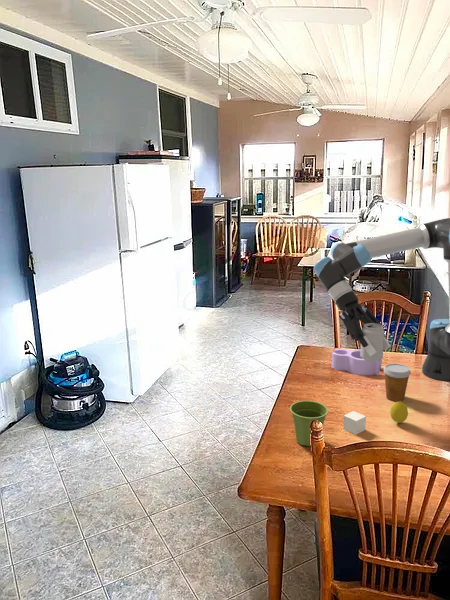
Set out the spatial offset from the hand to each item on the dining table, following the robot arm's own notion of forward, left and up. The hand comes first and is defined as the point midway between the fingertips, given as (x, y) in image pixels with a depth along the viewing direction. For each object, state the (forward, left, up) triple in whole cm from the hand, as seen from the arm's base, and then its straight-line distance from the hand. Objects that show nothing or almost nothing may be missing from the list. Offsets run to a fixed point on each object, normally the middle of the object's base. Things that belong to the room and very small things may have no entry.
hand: (380, 351), depth 167 cm
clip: (-9, -40, -24) cm, 48 cm away
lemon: (-4, +7, -24) cm, 25 cm away
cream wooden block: (+12, +8, -24) cm, 28 cm away
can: (+2, -3, -4) cm, 5 cm away
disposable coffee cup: (-12, -11, -24) cm, 29 cm away
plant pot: (+29, +12, -24) cm, 39 cm away
